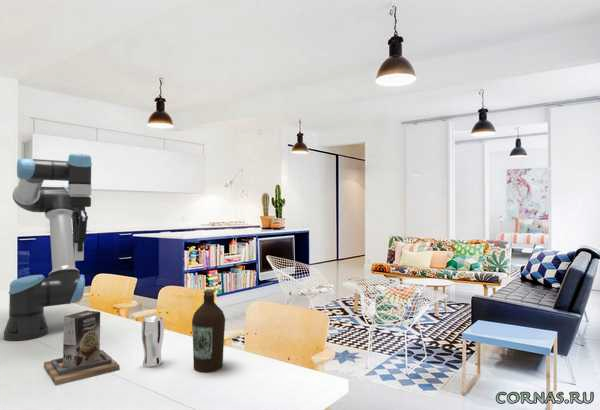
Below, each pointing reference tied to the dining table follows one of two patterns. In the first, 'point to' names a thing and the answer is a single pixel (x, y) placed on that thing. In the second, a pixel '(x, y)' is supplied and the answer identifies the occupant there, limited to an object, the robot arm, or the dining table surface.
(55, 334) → the dining table surface
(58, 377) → the pocket board
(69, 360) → the coffee box
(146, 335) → the beer glass
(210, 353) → the olive oil
